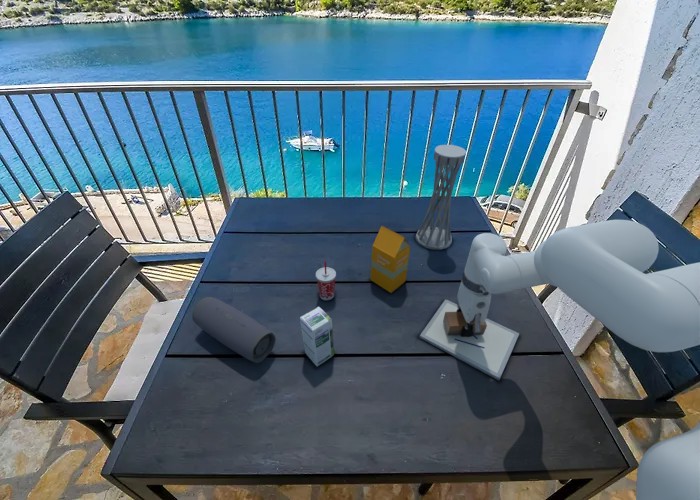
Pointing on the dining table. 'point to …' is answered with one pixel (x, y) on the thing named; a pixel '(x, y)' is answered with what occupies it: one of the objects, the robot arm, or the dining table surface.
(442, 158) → the grey lattice tower
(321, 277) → the beverage cup
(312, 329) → the syrup box
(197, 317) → the bluetooth speaker
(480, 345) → the board
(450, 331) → the eraser
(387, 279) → the orange juice
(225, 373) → the dining table surface
